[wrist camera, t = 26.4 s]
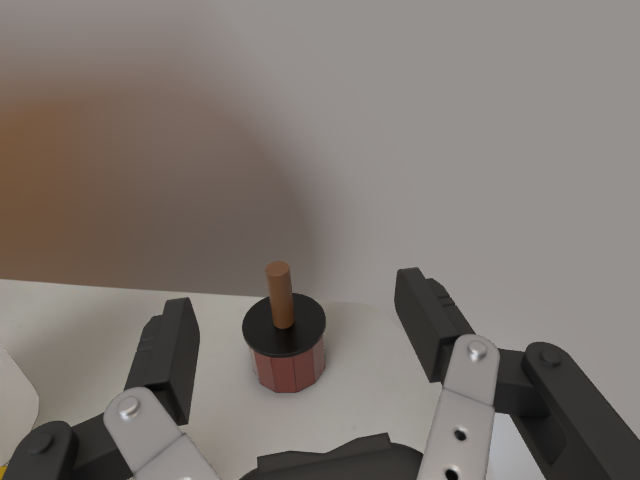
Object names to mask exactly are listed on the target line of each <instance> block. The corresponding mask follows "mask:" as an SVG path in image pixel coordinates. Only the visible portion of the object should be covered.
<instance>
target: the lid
mask: <svg viewBox="0 0 640 480" xmlns="http://www.w3.org/2000/svg"><path fill="white" fill-rule="evenodd" d="M265 271H266V277H267V284H268V291H269V297H266V298H264V299H262V300H260V301H259V302H257V303H256V304H255V305H253V306H252V307H251V308H250V310H249V311H248V312H247V314H246V315H245V317H244V320H243V324H242V331H243V336H244V339H245V341H246V343H247V344H248V346H249V347H250V348H251V349H253V350H254V351H255V352H257V353H259V354H261V355H263V356H267V357H272V358H288V357H293V356H297V355H299V354H302V353H304V352H306V351H308V350H309V349H311V348H312V347H314V346H315V345H316V344H317V343H318V342H319V340H320V339H321V337H322V336H323V334H324V332H325V328H326V317H325V313H324V311H323V309H322V307H321V306H320V305H319V304H318V303H317V302H316V301H315V300H313V299H312V298H310V297H308V296H305V295H302V294H297V293H292V286H291V277H290V268H289V265H288V264H287V263H285V262H282V261H276V262H272V263H270V264H269V265H268V266H267V267H266V269H265Z"/></svg>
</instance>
